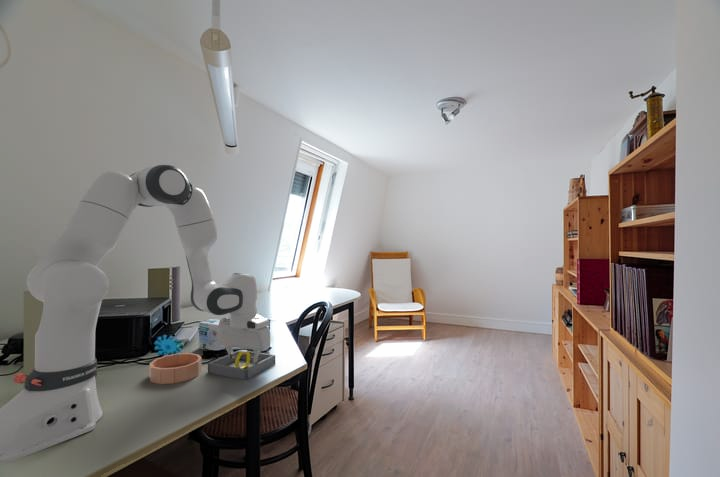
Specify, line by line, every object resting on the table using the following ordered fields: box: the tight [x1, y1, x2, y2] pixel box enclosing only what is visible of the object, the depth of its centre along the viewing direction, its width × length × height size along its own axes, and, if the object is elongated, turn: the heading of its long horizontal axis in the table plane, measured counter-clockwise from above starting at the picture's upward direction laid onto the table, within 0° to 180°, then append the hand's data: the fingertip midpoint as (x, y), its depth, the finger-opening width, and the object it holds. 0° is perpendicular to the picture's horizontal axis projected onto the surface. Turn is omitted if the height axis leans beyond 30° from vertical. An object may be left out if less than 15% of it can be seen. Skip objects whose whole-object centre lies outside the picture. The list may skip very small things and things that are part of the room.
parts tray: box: [207, 349, 276, 381], centre depth 120 cm, size 16×16×3 cm
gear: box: [153, 334, 184, 356], centre depth 132 cm, size 11×6×10 cm
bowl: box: [148, 352, 203, 385], centre depth 114 cm, size 15×15×4 cm
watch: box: [234, 349, 251, 369], centre depth 121 cm, size 6×3×6 cm, turn 156°
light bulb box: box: [198, 318, 221, 350], centre depth 142 cm, size 11×7×11 cm, turn 65°
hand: (242, 360), depth 121 cm, fingers open, 8 cm apart
